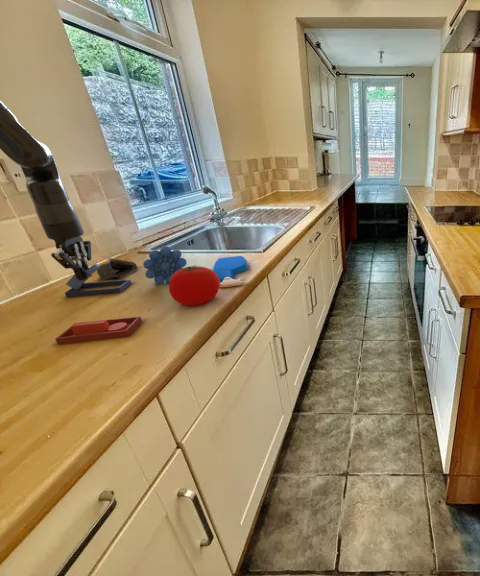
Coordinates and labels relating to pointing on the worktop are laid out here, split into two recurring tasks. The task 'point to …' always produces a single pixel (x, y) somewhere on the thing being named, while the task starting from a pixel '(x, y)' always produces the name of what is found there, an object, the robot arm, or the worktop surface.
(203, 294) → the tomato
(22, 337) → the worktop surface
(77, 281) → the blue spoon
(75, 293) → the blue tray
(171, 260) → the blue flower
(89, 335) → the red tray
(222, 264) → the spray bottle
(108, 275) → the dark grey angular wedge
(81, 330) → the red long stepped block
